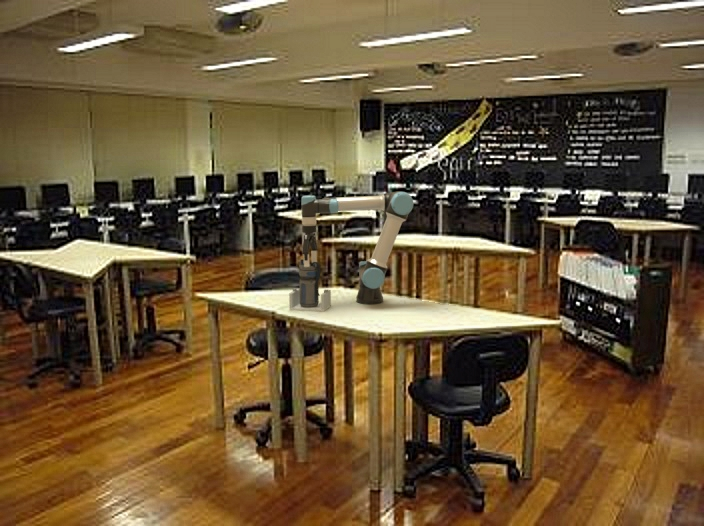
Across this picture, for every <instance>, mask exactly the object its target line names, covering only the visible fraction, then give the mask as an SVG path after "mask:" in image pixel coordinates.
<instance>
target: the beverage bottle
mask: <svg viewBox="0 0 704 526" xmlns="http://www.w3.org/2000/svg"><path fill="white" fill-rule="evenodd" d="M298 264H299V265H298V266H299V268H298V271H299V273H298V275H299V277H300V278H299V280H298V281H299V285H298V286H299V287H298V288H299V289H300V305H301V306H303V307H315V306H317V305H318V304H320V303H319V302H320V301H319V298H320V297H321V294H320V292H319V291H320V290H319V289H320V288H319V285H320V284H319V282H320V276H321V266H322V265H321V264H320V263H319V262H318V261H317V262H313V263H312V261H311V262H310V261H309V267H304V258H303V259H300V261H299V263H298ZM319 296H320V297H319Z"/></svg>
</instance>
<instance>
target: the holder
mask: <svg viewBox="0 0 704 526" xmlns="http://www.w3.org/2000/svg"><path fill="white" fill-rule="evenodd" d="M331 291H332V290H331V289H323V293H322V294H320V300H321V301H320V303H319V304H318V305H317V306H315V307H303V306H301V305H300V288H295V287H294V288H292V291H291V292H289V293H288V296H289V297H288V298H289V301H288V303H289V311H304V312H305V311H306V312H322V313H323V312H326V311H327V310H328V309H329V308H331V306H332V300H331V298H332V292H331Z"/></svg>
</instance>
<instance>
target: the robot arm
mask: <svg viewBox="0 0 704 526" xmlns="http://www.w3.org/2000/svg"><path fill="white" fill-rule="evenodd" d="M316 197H317V196H316V195H302V197H301V204H300V205H301V219H300V221H301V224H302V226H301V227H302V228H301V229H302V230H301V231H302V233H304V235H303V241H302V242H303V244H302V251H301V254H302V255H303V263H304V267H309V262H310V256H311V263H313V262H318V261H317V260H318V259H317V257H318V256H317V251H319V248H318V244H317V236H316V233H317V231H318V229H317V214H337V213H339V212H348V211H349V212H350V211H371V210H374V211H375V210H376V211H377V210H381V211H383V212H385V214H386V219H385V221H384V225H383V227H382V229H381V232H380V235H379V237H378V240H377V243H376V245H375V248H374V249H373V253H372V255H371V257H370V258H369V259H367V261H365V260H364V261H362V260H361V261H360V262H359V263H358V264H359V265H358V268H359V269H358V270H359V271H358V272H359V273H358V274H359V283H358V287H359V289H358V291H357V295H356V298H355V299H356V300H355V301H356V303H359V304H362V305H364V304H365V305H375V304H376V305H377V304H381V303H383V302H384V296H383V293H382V290H381V287H382V286H383V285H384V282H385V278H386V277H385V276H386V273H387V271H388V266H387V262H388V261H389V257H390V255H391V252H392V250H393V247H394V244H395V242H396V239H397V236H398V234H399V231H400V229H401V226H402V224H403V222H406V221H407V219H408V217H409V216H408V215H409V214H410V213H411V212H412V210H413V208H414V199H413V198H412V196H411V194H409V193H407V192H405V191H393V192H386V193H382V194H380V195H365V196H364V195H363V196H344V197H339V196H338V197H324V198H322V199H321V198H320V199H318V198H316ZM310 249H311V251H310ZM310 254H311V255H310Z"/></svg>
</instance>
